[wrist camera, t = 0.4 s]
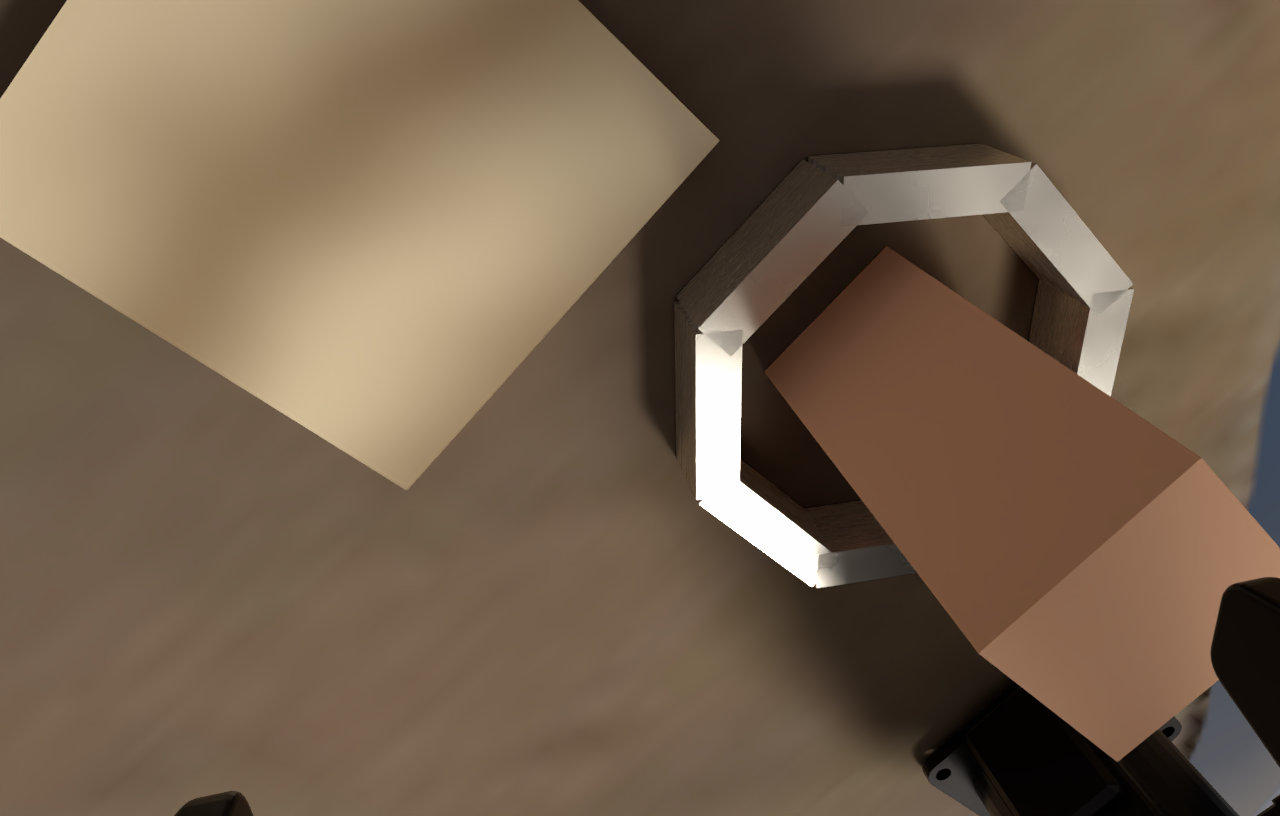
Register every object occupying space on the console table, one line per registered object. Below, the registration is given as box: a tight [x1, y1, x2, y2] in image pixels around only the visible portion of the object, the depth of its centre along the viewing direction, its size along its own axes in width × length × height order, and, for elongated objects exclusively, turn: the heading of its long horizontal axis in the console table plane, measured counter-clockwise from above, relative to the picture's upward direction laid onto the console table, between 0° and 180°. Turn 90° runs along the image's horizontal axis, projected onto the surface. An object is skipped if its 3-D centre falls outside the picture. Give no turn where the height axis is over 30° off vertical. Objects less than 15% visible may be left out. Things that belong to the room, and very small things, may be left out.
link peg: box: [764, 246, 1280, 762], centre depth 18 cm, size 4×4×10 cm
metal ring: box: [674, 143, 1134, 588], centre depth 22 cm, size 10×10×2 cm
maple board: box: [0, 0, 720, 490], centre depth 18 cm, size 10×10×1 cm
